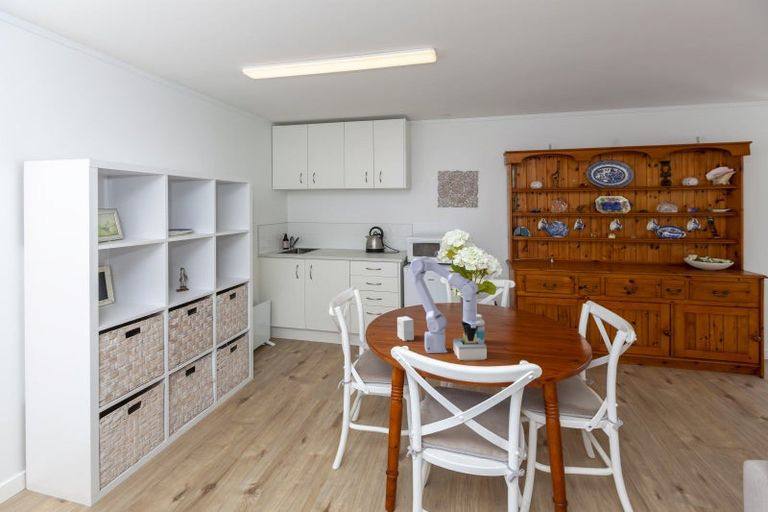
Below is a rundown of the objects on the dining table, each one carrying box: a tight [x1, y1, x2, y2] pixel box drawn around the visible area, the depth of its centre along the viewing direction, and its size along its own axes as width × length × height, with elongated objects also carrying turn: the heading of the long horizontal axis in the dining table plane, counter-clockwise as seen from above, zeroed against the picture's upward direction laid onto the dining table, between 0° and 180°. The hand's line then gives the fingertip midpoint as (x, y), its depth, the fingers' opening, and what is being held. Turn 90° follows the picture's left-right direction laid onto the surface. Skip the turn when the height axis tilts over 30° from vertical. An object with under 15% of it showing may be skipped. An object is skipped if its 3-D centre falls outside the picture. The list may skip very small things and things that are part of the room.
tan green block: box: [462, 332, 477, 344], centre depth 185 cm, size 5×4×4 cm
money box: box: [452, 337, 488, 361], centre depth 186 cm, size 12×12×6 cm
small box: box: [396, 315, 415, 342], centre depth 211 cm, size 8×6×10 cm
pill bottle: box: [475, 313, 486, 344], centre depth 204 cm, size 8×7×14 cm
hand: (469, 339), depth 185 cm, fingers closed on tan green block, 4 cm apart
